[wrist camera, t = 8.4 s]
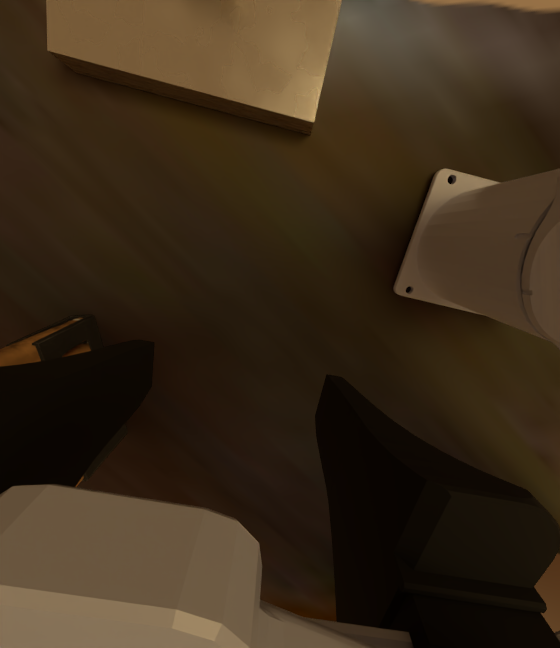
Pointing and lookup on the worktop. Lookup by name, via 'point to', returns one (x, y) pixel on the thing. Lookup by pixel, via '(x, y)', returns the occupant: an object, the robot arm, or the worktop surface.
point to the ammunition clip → (58, 343)
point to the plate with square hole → (204, 51)
